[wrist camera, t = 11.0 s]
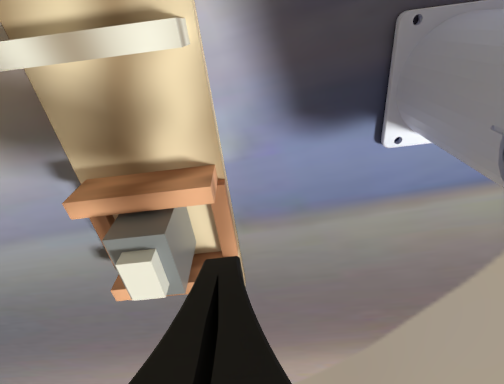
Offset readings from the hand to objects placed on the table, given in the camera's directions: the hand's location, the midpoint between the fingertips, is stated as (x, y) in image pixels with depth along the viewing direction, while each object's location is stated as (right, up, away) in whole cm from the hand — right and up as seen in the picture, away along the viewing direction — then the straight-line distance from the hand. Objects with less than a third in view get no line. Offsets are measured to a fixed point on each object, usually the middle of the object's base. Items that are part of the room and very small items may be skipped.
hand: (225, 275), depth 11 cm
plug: (-5, +1, +10) cm, 11 cm away
